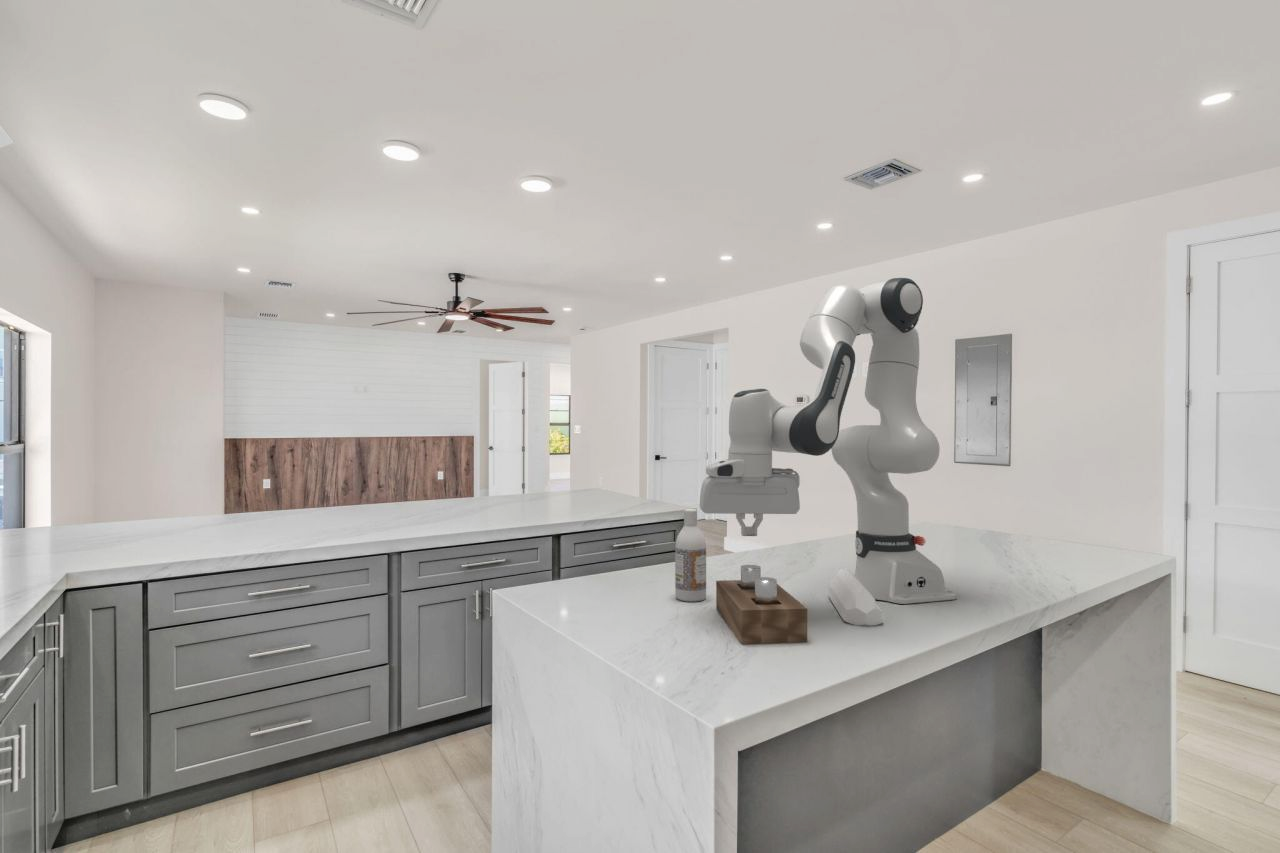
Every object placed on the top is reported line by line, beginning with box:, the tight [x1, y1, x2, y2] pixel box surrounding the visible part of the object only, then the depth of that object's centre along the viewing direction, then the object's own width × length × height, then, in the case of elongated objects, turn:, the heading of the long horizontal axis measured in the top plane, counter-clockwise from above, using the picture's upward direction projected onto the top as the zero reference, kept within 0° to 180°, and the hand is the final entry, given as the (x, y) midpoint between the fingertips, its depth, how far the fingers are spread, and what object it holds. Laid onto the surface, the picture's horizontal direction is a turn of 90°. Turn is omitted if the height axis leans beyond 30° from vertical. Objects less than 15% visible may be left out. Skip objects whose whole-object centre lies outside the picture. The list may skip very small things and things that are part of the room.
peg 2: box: [755, 576, 778, 605], centre depth 118 cm, size 4×4×6 cm
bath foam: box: [674, 508, 707, 603], centre depth 142 cm, size 7×7×20 cm
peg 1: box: [740, 564, 762, 590], centre depth 129 cm, size 4×4×6 cm
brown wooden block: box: [715, 579, 808, 645], centre depth 123 cm, size 12×22×6 cm, turn 5°
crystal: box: [827, 566, 884, 627], centre depth 133 cm, size 7×7×24 cm
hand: (749, 535), depth 129 cm, fingers closed
